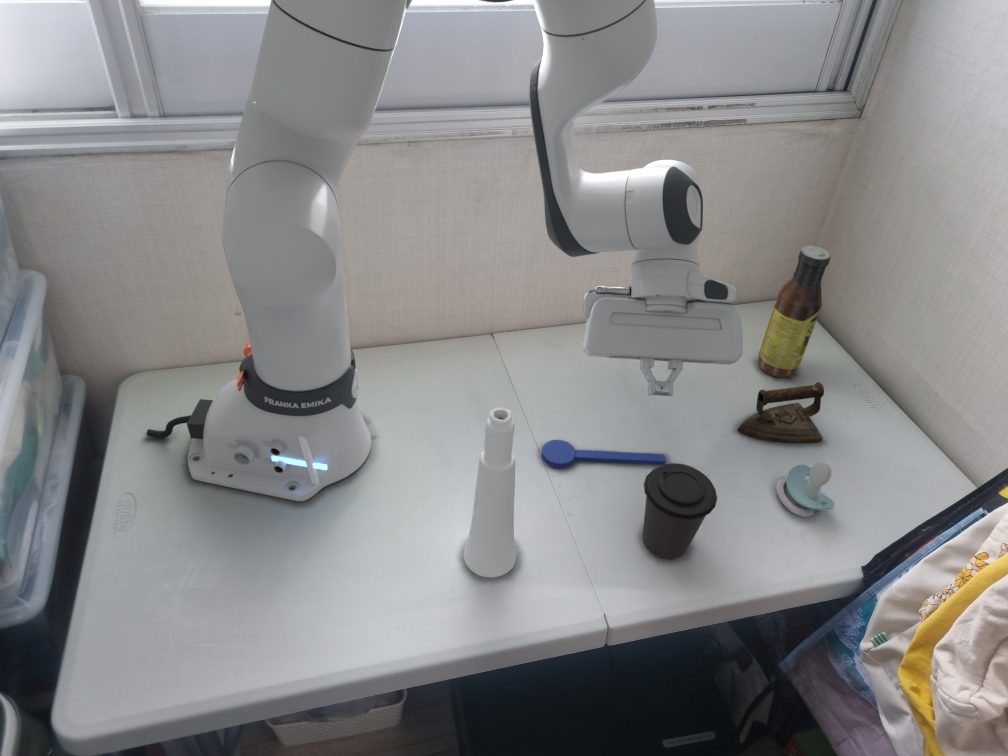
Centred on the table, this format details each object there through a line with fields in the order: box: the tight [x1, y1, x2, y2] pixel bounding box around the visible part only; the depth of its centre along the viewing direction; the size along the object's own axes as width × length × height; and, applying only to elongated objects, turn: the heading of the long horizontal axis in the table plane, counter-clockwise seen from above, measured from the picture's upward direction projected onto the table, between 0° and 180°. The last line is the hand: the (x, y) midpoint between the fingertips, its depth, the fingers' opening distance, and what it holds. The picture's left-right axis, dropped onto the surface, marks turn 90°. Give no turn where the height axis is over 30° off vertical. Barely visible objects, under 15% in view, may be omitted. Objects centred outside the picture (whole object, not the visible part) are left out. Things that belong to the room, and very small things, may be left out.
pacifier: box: [775, 460, 836, 518], centre depth 95 cm, size 7×6×6 cm
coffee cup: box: [642, 462, 718, 560], centre depth 87 cm, size 8×8×10 cm
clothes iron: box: [736, 381, 825, 444], centre depth 104 cm, size 7×11×10 cm, turn 101°
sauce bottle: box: [757, 245, 832, 378], centre depth 111 cm, size 6×6×20 cm
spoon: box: [541, 439, 667, 469], centre depth 100 cm, size 16×4×1 cm, turn 90°
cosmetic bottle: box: [463, 406, 518, 579], centre depth 80 cm, size 6×6×22 cm
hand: (660, 395), depth 98 cm, fingers closed
